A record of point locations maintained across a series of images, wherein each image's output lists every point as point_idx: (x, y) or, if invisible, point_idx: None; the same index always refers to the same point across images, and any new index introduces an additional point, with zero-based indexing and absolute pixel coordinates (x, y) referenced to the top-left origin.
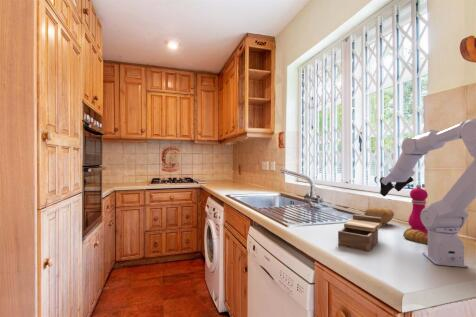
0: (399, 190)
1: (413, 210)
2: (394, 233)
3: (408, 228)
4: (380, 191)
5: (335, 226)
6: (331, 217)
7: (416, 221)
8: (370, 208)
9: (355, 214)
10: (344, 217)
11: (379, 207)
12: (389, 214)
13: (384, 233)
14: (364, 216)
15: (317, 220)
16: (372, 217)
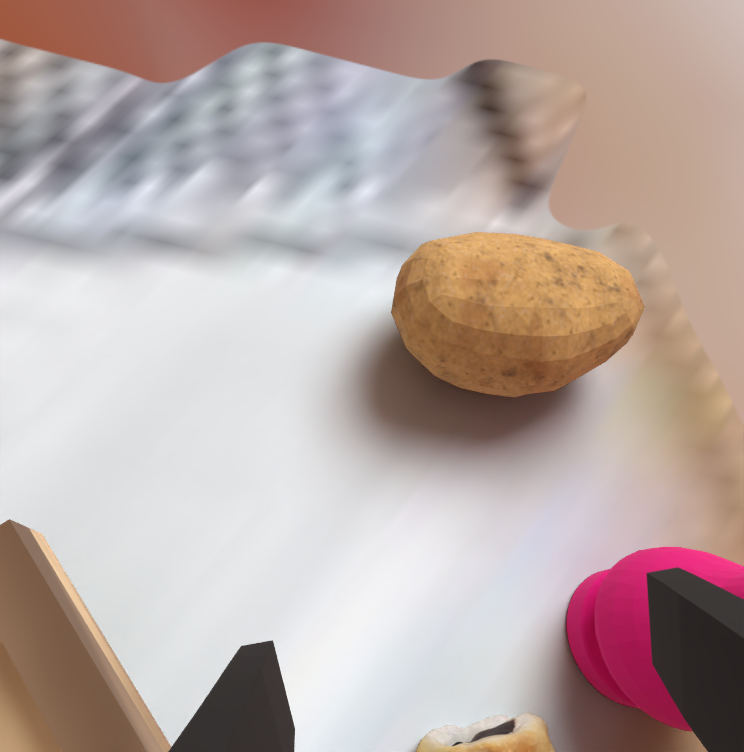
0: (676, 703)
1: None
2: (433, 597)
3: (493, 749)
4: (220, 684)
5: (120, 319)
6: (276, 125)
7: (641, 686)
8: (440, 278)
9: (11, 535)
10: (365, 148)
11: (536, 279)
12: (564, 374)
13: (354, 580)
14: (17, 668)
15: (116, 158)
16: (65, 749)
